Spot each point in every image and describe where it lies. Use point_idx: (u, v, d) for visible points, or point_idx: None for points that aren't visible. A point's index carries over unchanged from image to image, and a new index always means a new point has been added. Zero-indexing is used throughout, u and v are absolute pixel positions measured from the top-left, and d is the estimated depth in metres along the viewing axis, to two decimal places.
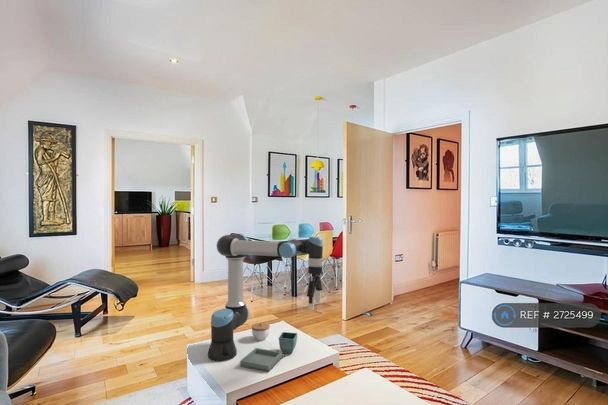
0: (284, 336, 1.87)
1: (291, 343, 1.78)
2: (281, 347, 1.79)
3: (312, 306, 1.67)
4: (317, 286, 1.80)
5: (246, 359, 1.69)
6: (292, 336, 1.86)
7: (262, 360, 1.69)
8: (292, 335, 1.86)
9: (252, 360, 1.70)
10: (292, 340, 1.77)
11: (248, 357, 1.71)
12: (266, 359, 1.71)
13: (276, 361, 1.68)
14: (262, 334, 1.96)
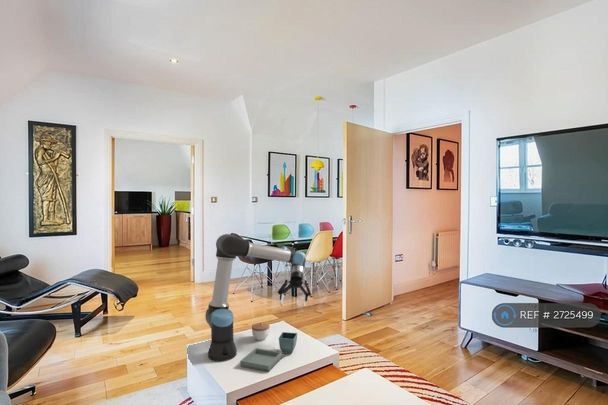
0: (284, 336, 1.87)
1: (291, 343, 1.78)
2: (281, 347, 1.79)
3: (304, 303, 1.93)
4: (286, 291, 2.00)
5: (246, 359, 1.69)
6: (292, 336, 1.86)
7: (262, 360, 1.69)
8: (292, 335, 1.86)
9: (252, 360, 1.70)
10: (292, 340, 1.77)
11: (248, 357, 1.71)
12: (266, 359, 1.71)
13: (276, 361, 1.68)
14: (262, 334, 1.96)
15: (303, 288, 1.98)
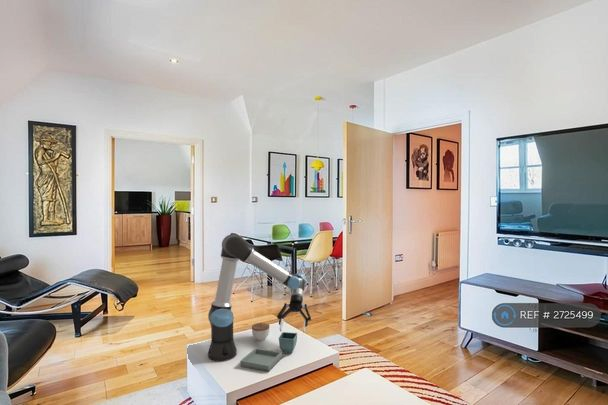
0: (284, 336, 1.87)
1: (291, 343, 1.78)
2: (281, 347, 1.79)
3: (304, 329, 1.88)
4: (285, 315, 1.94)
5: (246, 359, 1.69)
6: (292, 336, 1.86)
7: (262, 360, 1.69)
8: (292, 335, 1.86)
9: (252, 360, 1.70)
10: (292, 340, 1.77)
11: (248, 357, 1.71)
12: (266, 359, 1.71)
13: (276, 361, 1.68)
14: (262, 334, 1.96)
15: None
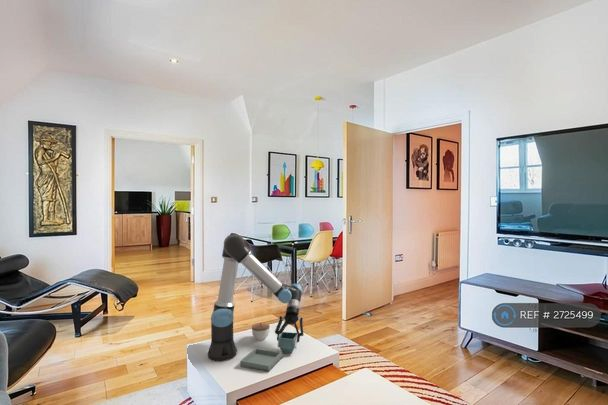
0: (284, 336, 1.87)
1: (291, 343, 1.78)
2: (281, 347, 1.79)
3: (296, 345, 1.80)
4: (283, 329, 1.87)
5: (246, 359, 1.69)
6: (292, 336, 1.86)
7: (262, 360, 1.69)
8: (292, 335, 1.86)
9: (252, 360, 1.70)
10: (292, 340, 1.77)
11: (248, 357, 1.71)
12: (266, 359, 1.71)
13: (276, 361, 1.68)
14: (262, 334, 1.96)
15: None
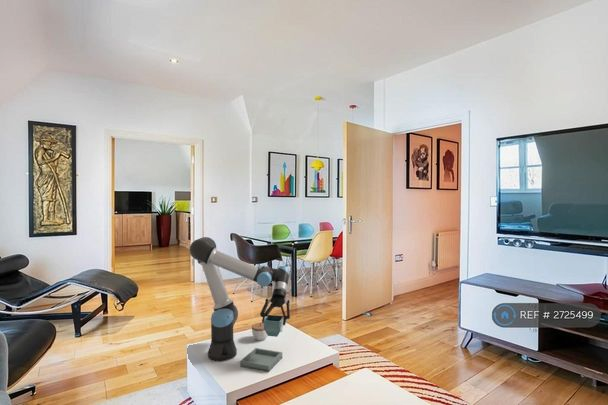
0: (270, 319, 1.79)
1: (277, 326, 1.70)
2: (266, 330, 1.71)
3: (282, 328, 1.72)
4: (268, 312, 1.79)
5: (246, 359, 1.69)
6: (278, 319, 1.78)
7: (262, 360, 1.69)
8: (278, 318, 1.78)
9: (252, 360, 1.70)
10: (278, 323, 1.70)
11: (248, 357, 1.71)
12: (266, 359, 1.71)
13: (276, 361, 1.68)
14: (262, 334, 1.96)
15: (283, 309, 1.78)
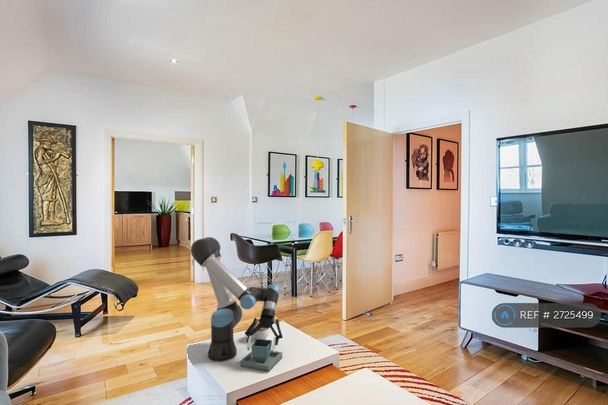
0: (258, 343, 1.74)
1: (264, 351, 1.66)
2: (254, 355, 1.67)
3: (274, 348, 1.68)
4: (254, 332, 1.75)
5: (246, 359, 1.69)
6: (266, 343, 1.74)
7: None
8: (266, 342, 1.74)
9: (252, 360, 1.70)
10: (265, 348, 1.65)
11: (248, 357, 1.71)
12: None
13: (276, 361, 1.68)
14: (262, 334, 1.96)
15: None
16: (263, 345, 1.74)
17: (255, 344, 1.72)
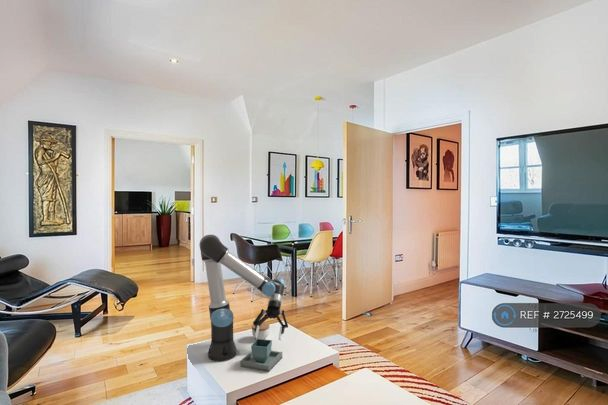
0: (258, 343, 1.74)
1: (264, 351, 1.66)
2: (254, 355, 1.67)
3: None
4: (262, 321, 1.88)
5: (246, 359, 1.69)
6: (266, 343, 1.74)
7: None
8: (266, 342, 1.74)
9: (252, 360, 1.70)
10: (265, 348, 1.65)
11: (248, 357, 1.71)
12: None
13: (276, 361, 1.68)
14: (262, 334, 1.96)
15: None
16: (263, 345, 1.74)
17: (255, 344, 1.72)
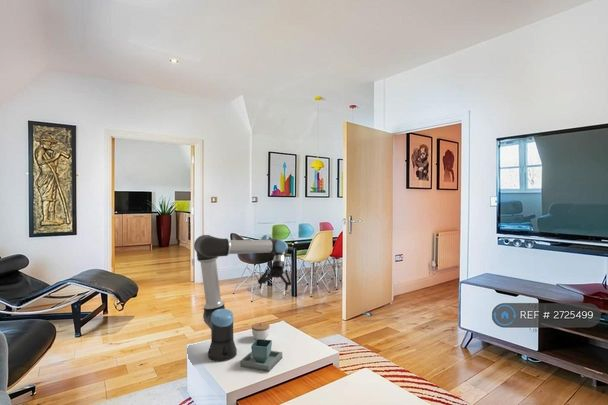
0: (258, 343, 1.74)
1: (264, 351, 1.66)
2: (254, 355, 1.67)
3: (284, 293, 1.90)
4: (266, 280, 1.97)
5: (246, 359, 1.69)
6: (266, 343, 1.74)
7: None
8: (266, 342, 1.74)
9: (252, 360, 1.70)
10: (265, 348, 1.65)
11: (248, 357, 1.71)
12: None
13: (276, 361, 1.68)
14: (262, 334, 1.96)
15: (283, 277, 1.96)
16: (263, 345, 1.74)
17: (255, 344, 1.72)
